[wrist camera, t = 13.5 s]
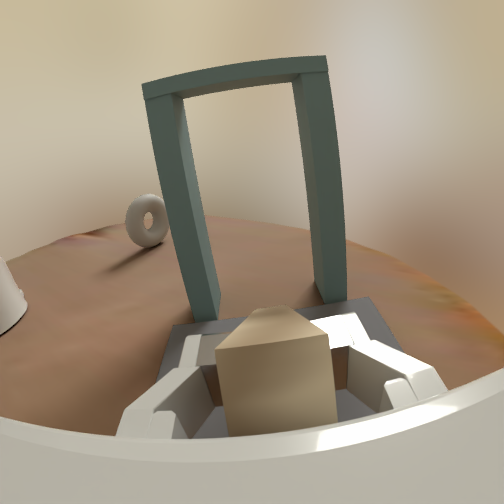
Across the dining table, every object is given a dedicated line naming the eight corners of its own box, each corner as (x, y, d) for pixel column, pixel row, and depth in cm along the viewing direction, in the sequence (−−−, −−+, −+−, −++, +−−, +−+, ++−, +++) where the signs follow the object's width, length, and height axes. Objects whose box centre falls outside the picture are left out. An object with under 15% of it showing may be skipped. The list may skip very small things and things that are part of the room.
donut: (140, 257, 54) (126, 202, 50) (129, 255, 56) (115, 203, 52) (178, 236, 62) (167, 187, 58) (166, 235, 64) (156, 188, 60)
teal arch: (195, 324, 32) (141, 84, 23) (201, 295, 38) (159, 90, 29) (347, 301, 32) (325, 55, 23) (333, 276, 37) (311, 67, 28)
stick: (235, 469, 6) (214, 349, 6) (260, 345, 25) (255, 309, 25) (340, 455, 6) (328, 333, 6) (290, 341, 25) (285, 304, 25)
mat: (117, 575, 8) (110, 573, 8) (175, 331, 32) (173, 325, 31) (485, 526, 8) (491, 521, 7) (368, 303, 31) (368, 296, 31)
